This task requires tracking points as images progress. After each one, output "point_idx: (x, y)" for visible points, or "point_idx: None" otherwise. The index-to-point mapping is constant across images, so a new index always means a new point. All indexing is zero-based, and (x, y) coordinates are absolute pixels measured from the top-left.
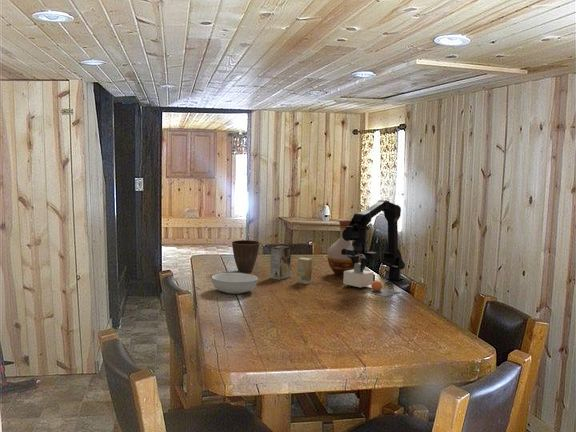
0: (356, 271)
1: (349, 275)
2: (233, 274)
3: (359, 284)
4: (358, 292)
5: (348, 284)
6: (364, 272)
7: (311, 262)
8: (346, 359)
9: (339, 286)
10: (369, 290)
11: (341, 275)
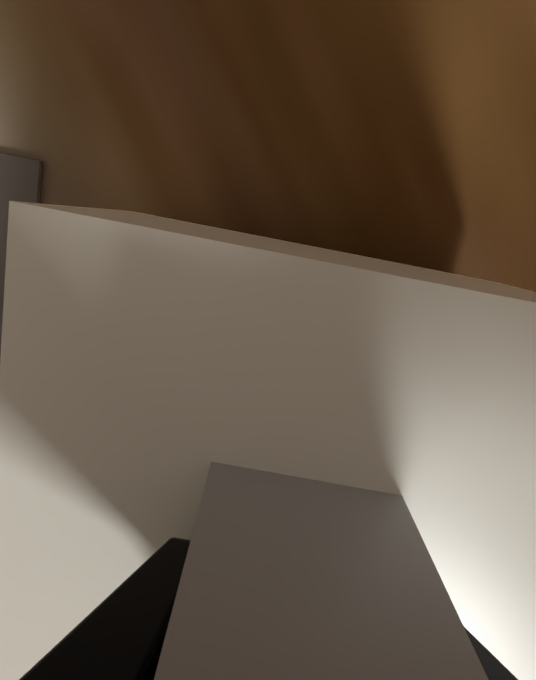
0: (316, 490)
1: (428, 278)
2: None
3: (134, 212)
4: (92, 58)
5: (387, 261)
6: (118, 574)
7: None
8: None
9: (530, 247)
10: None
11: None
